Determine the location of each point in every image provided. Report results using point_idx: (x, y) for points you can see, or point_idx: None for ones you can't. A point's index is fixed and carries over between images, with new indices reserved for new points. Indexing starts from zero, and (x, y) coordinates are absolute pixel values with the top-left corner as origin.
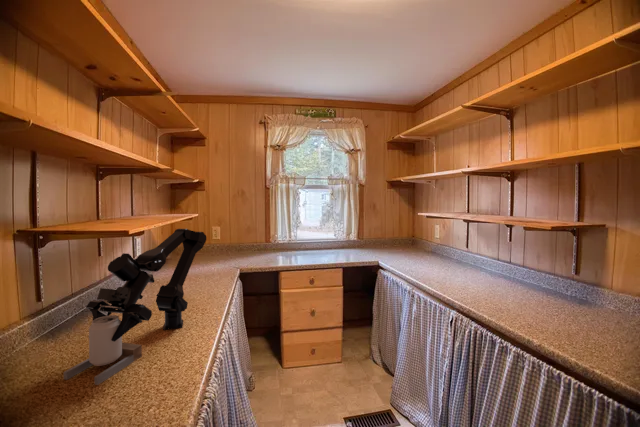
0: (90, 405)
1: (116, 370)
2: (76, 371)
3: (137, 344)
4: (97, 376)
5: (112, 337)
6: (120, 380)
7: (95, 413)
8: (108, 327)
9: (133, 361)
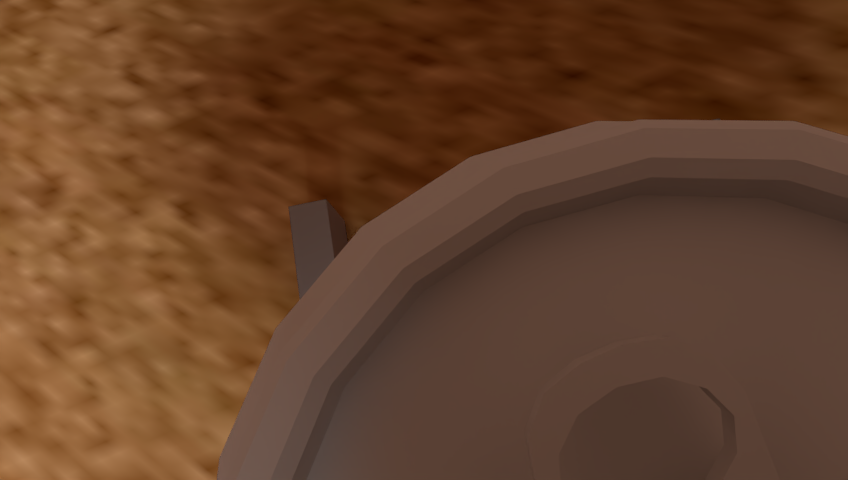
0: (123, 74)
1: None
2: None
3: None
4: (304, 215)
5: None
6: (186, 351)
7: (19, 48)
8: (256, 403)
9: None
